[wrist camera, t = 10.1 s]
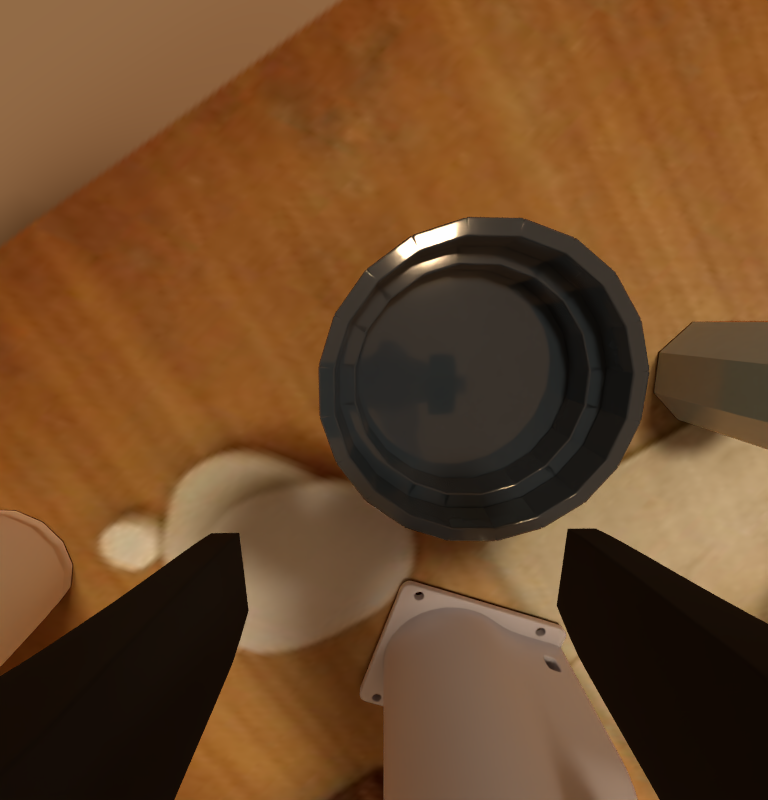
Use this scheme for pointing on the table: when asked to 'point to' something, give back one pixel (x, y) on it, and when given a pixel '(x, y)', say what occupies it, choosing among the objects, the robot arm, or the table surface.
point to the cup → (718, 378)
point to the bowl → (483, 379)
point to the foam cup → (28, 577)
